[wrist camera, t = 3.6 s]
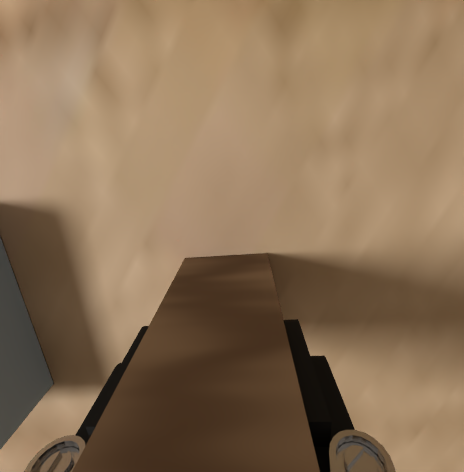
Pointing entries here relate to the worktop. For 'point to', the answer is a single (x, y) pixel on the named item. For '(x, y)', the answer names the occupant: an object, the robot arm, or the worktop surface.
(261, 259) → the peg
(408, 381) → the worktop surface
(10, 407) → the socket block
